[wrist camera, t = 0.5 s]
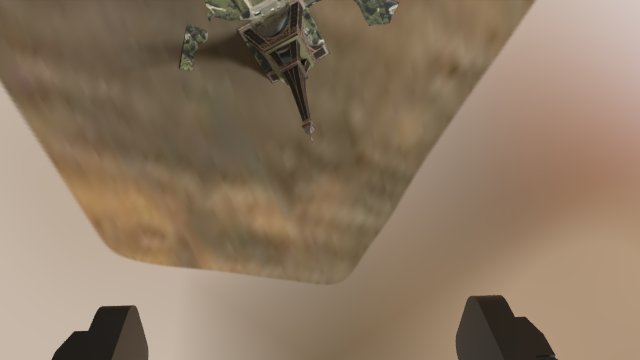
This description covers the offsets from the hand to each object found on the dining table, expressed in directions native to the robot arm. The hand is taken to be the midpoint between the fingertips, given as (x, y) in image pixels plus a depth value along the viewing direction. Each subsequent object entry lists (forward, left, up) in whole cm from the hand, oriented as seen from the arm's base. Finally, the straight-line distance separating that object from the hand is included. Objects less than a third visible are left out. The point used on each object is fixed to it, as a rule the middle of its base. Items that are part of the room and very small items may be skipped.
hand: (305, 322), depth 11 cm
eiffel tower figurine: (+6, -2, -28) cm, 29 cm away
